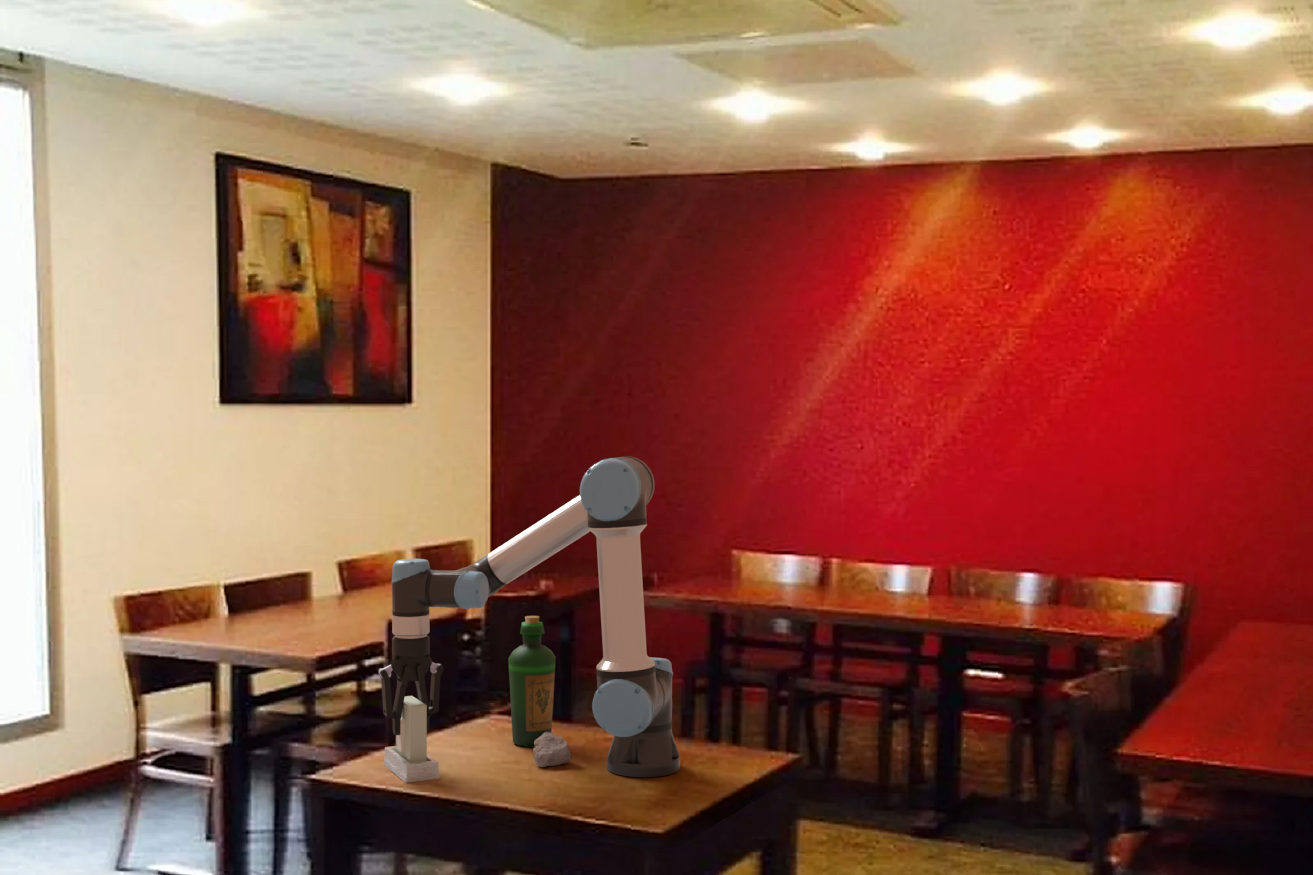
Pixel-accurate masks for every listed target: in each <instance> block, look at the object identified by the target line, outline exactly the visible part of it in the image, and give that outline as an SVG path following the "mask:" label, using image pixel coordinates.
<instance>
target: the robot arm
mask: <svg viewBox="0 0 1313 875" xmlns="http://www.w3.org/2000/svg"><path fill="white" fill-rule="evenodd" d="M654 493H655V479H654V475H653V472H652V470H651V469H650V467H649V466H648V465H647V464H646V463H645V462H644V461H642V460H640V459H639V458H637V457H634V456H629V455H625V456H617V457H611V458H604V459H602V460H599V461H598V462H596V463H594V464H593V465H592V466H590V467H589V468H588V470H587V471H586V472H584V475H583V476H582V479H581V482H580V486H579V495H576V496H575V497H574V498H572V499H571V500H570V501H568V502H567V503H566V502H565V504H563V505H562V506H560V507H558V508H557V509H556V510H554V511H553V512H551V513H549V514H548V515H547V516H545V517H543V518H541V519H540V520H538V521H537V522H536V523H534V524H532V525H530V526H529V527H528V528H526V529H524V530H523V531H521V532H520V533H518V534H517V535H515V536H514V537H512V538H511V539H509V540H508V541H506V542H504V543H503V544H502V545H500V546H498V547H497V548H495V549H494V550H492V551H490V552H489V553H488V554H486V555H484V556H482V557H481V558H479V559H478V560H476V561H475V562H474V563H471V564H470V565H468V566H465V567H461V568H459V569H456V570H442V569H440V570H438V569H431V567H430V562H429V560H428V559H424V558H403V559H402V558H401V559H398V560H396V561H395V562H394V563H393V564H392V574H391V575H392V576H391V582H390V584H391V598H392V599H391V600H392V601H391V602H392V604H391V606H392V608H391V609H392V611H391V613H392V616H391V617H392V618H391V619H392V621H391V622H392V624H391V626H392V630H391V632H392V633H391V634H393V637H392V638H391V641H392V642H391V645H392V646H391V649H392V650H391V653H392V657H391V660H390V662H389V665H387V666H385V667H383V668H382V667H379V668H378V669H377V673H378V675H379V678H380V681H381V693H382V695H381V696H382V710H383V715H384V716H385V717H387V718H389V719H392V733H393V735H394V736H396V735H397V749H398V750H399V751H400V752H405V720H404V719H403V718H401V715H402V709H403V703H404V697H405V696H406V690H407V687H408V683H409V682H412V681H414V683H415V686H416V692H417V699H418V700H419V701H421V702H422V703H424V704H426V705H427V733H429V732H430V718H431V717H432V715H433V714H437V713H438V712H439V710H440V708H439V707H440V691H441V676H442V674H443V672H444V669H445V667H444V665H442V664H441V663H438V662H437V663H435V662H433V661H432V658H431V657H430V656H431V655H430V646H431V644H430V640H431V639H430V636H429V635H428V634H429V633H430V608H445V609H446V608H450V609H464V610H470V609H481V608H483V607H484V606H485V605H486V603H487V601H488V598H490V597H491V596H494V595H495V594H496V593H497V592H498V591H499V590H500V589H502V588H504V587H505V586H506V585H508V584H509V583H510V582H513V581H515V580H516V579H517V578H519V577H521V576H522V575H524V574H526V573H527V572H528V571H530V570H531V569H533V568H534V567H536V566H538V565H539V564H541V563H542V562H544V561H546V560H547V559H549V558H550V557H552V556H554V555H555V554H557V553H558V552H560V551H561V550H564V549H565V548H566V547H568V546H569V545H571V544H573V543H574V542H576V541H577V540H579V539H581V538H582V537H583V536H585V535H587V534H588V533H590V532H591V533H592V534H593V535H594V536H595V538H596V552H597V553H596V554H597V568H598V569H597V571H598V573H597V574H598V587H599V603H600V604H599V605H600V606H599V607H600V623H601V639H602V640H601V642H602V656H603V657H602V658H601V660H600V661H599V663H598V664H597V665H596V667H595V670H596V683H597V685H596V687H597V690H596V691H595V692H594V696H593V699H592V705H591V708H592V713H593V717H594V719H595V721H596V723H597V724H598V726H600V727H601V729H603V730H604V731H605V732H607V733H608V734H610V735H612V736H613V738H612V740H611V744H610V747H609V750H608V754H607V757H606V770H607V771H608V772H610V773H612V774H614V775H618V776H623V777H629V778H630V777H632V778H656V777H663V776H669V775H673V774H675V773H678V771H680V770H681V756H680V753H679V750H678V746H677V744H676V741H675V738H674V733H673V729H672V728H673V725H672V724H673V720H672V719H673V718H672V717H673V716H672V715H673V697H672V696H673V676H674V672H673V668H672V667H673V666H672V662H671V661H670V660H669V659H668V658H665V657H664V658H662V657H655V656H654V657H651V656H648V653H647V652H648V651H647V650H648V649H647V636H646V619H645V603H644V600H645V599H644V587H643V586H644V584H643V569H642V568H643V567H642V566H643V565H642V551H641V547H642V546H641V533H642V532H643V531H644V529H645V528H646V527H647V526H648V523H647V522H648V518H647V505H648V504H649V503H650V501H651V499H652V497H653V495H654ZM392 671H393V672H394V674H395V675H396V676H397V679H396V690H395V695H394V696H395V697H394V699H393V700H394V702H393V700H392V685H391V679H390V678H391V677H392ZM428 671H430V673H431V677H430V689H429V690H430V692H429V700H428V694H427V689H426V681H425V676H426V674H427V673H428Z"/></svg>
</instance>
